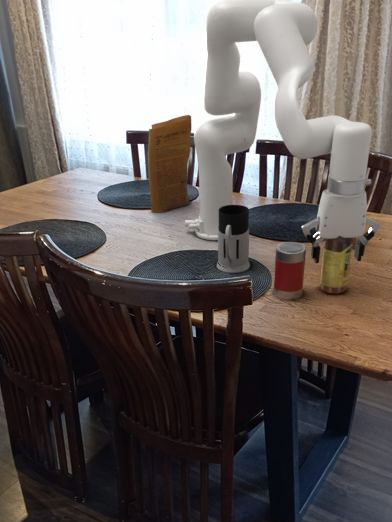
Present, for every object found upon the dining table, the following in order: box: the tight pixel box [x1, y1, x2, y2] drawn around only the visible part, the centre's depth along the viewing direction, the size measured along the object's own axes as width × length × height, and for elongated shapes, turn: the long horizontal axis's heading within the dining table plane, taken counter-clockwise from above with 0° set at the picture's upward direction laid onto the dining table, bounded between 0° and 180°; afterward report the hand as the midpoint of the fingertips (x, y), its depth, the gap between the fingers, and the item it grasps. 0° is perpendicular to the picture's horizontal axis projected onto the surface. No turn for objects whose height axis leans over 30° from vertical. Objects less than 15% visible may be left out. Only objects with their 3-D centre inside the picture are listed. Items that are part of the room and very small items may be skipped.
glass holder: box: [216, 204, 251, 274], centre depth 132 cm, size 9×14×15 cm, turn 167°
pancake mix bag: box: [147, 114, 192, 213], centre depth 171 cm, size 7×19×28 cm, turn 131°
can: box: [273, 241, 307, 301], centre depth 122 cm, size 7×7×12 cm
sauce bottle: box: [319, 236, 353, 295], centre depth 121 cm, size 7×6×20 cm
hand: (336, 259), depth 122 cm, fingers open, 9 cm apart
